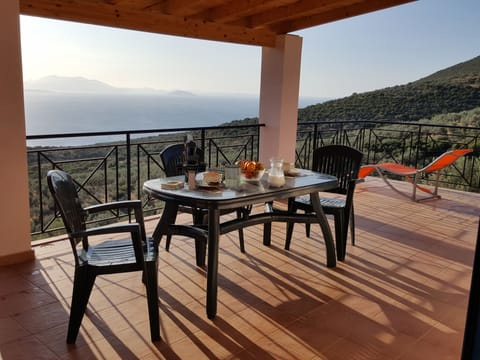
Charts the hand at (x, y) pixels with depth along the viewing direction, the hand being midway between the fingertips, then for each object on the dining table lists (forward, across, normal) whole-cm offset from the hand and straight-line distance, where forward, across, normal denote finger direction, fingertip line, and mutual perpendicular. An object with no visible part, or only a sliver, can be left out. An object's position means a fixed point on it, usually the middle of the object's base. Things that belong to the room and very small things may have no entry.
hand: (191, 177), depth 280 cm
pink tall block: (+4, 0, +6) cm, 7 cm away
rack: (+2, -12, +8) cm, 14 cm away
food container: (-8, +18, +18) cm, 27 cm away
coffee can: (+2, +27, +9) cm, 28 cm away
